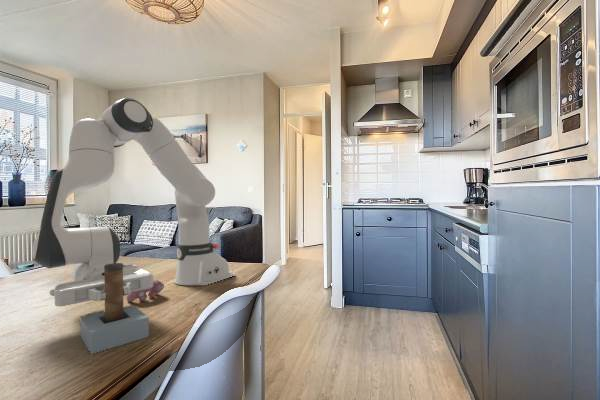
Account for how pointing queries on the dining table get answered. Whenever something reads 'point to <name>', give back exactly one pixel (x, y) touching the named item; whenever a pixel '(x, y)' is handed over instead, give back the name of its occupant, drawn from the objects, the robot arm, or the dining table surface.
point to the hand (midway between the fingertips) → (115, 294)
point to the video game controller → (142, 293)
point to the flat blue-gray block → (113, 329)
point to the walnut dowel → (113, 292)
